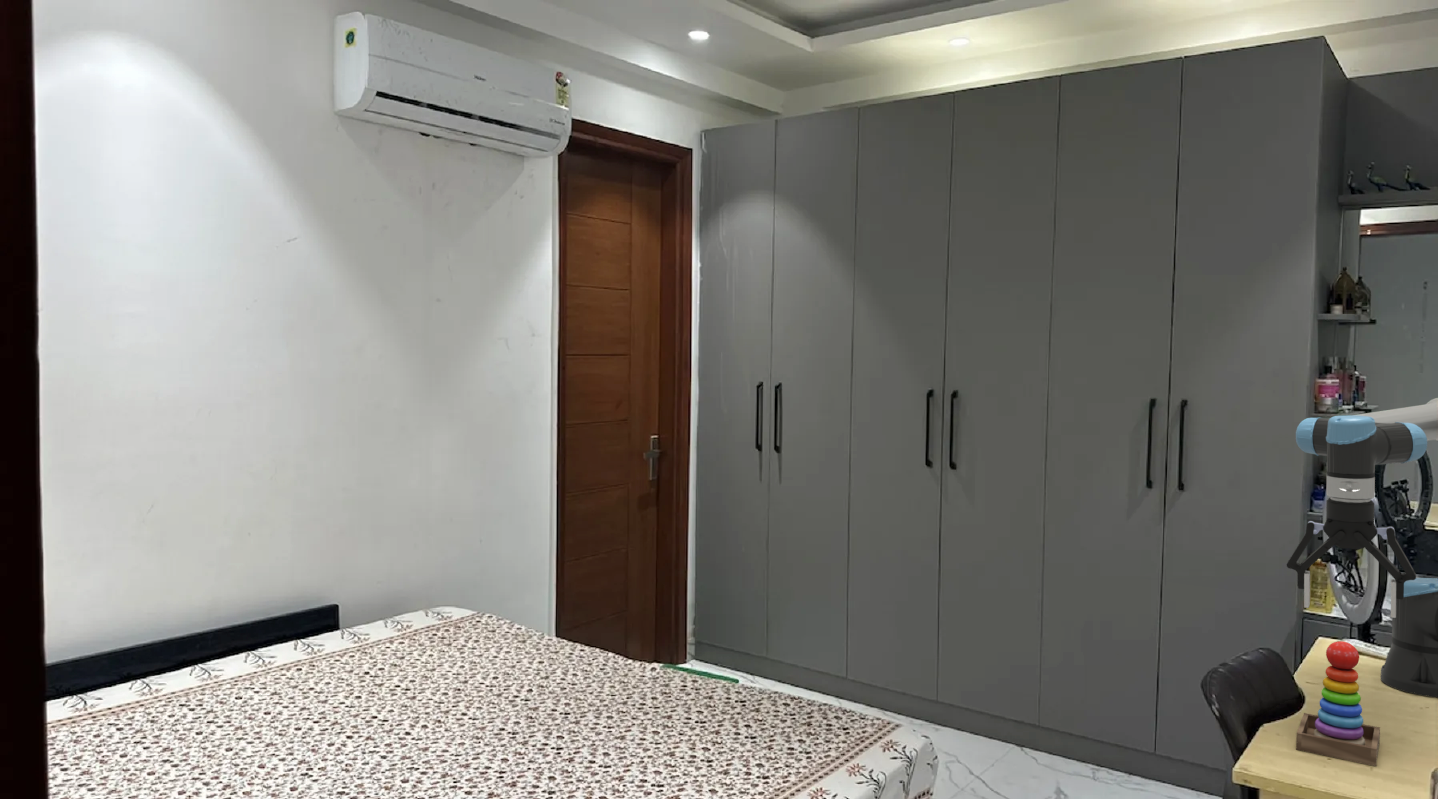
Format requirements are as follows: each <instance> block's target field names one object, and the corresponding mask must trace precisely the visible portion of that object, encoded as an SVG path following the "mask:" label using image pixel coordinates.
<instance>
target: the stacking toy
mask: <svg viewBox="0 0 1438 799" xmlns="http://www.w3.org/2000/svg"><path fill="white" fill-rule="evenodd" d="M1325 656H1326V660H1327V661H1328V664H1330V665H1329V666H1327V667H1326V668H1325V674H1326V677H1324V678H1323V680H1322V685H1323V686H1324V687H1323V688H1322V689H1321V696H1322V698H1320V700H1319V706H1320V708H1319V710H1318V711H1317V715H1318V716H1319V718H1318V719H1317V720H1316V721H1315V727H1316V729H1315V731H1314V735H1315V736H1320V737H1325V738H1330V739H1335V740H1340V741H1345V742H1350V743H1355V744H1360V745H1365V739H1364V738H1363V737H1362V736H1363V733H1364V731H1363V728H1362V727H1361V725H1362V724H1364V718H1363V716H1362V713H1363V708H1362V705H1361V704H1360V702H1361V698H1362V697H1361V695H1360V693H1359V692H1358V691H1359V688H1360V686H1359V684H1358V682H1357V680H1358V678H1359V673H1358V671H1357V670H1355V669H1354V668H1355V667H1356V666H1357V665H1358V664H1359V661H1360V654H1359V651H1358V650H1357V648H1356V647H1355V646H1354V645H1353V644H1351V643H1349V642H1346V641H1342V640H1340V641H1339V640H1338V641H1334V642H1331V643H1330V644H1329V645H1328V646H1327V648H1326V652H1325Z"/></svg>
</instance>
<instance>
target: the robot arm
mask: <svg viewBox="0 0 1438 799" xmlns="http://www.w3.org/2000/svg"><path fill="white" fill-rule="evenodd" d="M1295 441H1296V445H1297V447H1298V448H1299V449H1300V450H1301V451H1302V452H1304V453H1305V454H1311V455H1315V456H1317V457H1319V456H1325V457H1326V466H1327V467H1326V496H1327V497H1329V498H1327V499H1326V504H1325V505H1326V506H1325V507H1326V513H1325V514H1326V516H1325V517H1326V518H1325V523H1320V522H1315V521H1314V520H1308V522H1307V524H1306V530H1305V533H1304V535H1303V537H1302V539H1301V540H1300V542H1299V543H1298V545H1297V546H1296V548H1295V549H1294V551H1293V552H1292V554H1291V556H1290V557H1289V560H1288V561H1287V563H1286V567H1287V568H1288V569H1290V570H1291V569H1292V570H1293V571H1295V572H1297V584H1296V585H1297V587H1298V589H1299V590H1304V591H1303V596H1304V597H1303V608H1304V609H1305V608H1308V609H1309V608H1310V605H1311V604H1310V603H1311V571H1310V570H1308V569H1309V568H1310V567H1311V566H1312V565H1314V564H1315V563H1316V562H1317V561H1318V560H1319V559H1320V558H1321V557H1323V556H1324V555H1325V554H1326V553H1327V552H1328V551H1329V550H1330V549H1331V548H1333V547H1334V546H1335V547H1337V548H1339V549H1344V550H1345V549H1351V550H1357V551H1360V550H1362V549H1365V550H1366V551H1367V552H1368V553H1369V554H1370V555H1372V556H1373V558H1375V559H1376V561H1377V562H1378V563H1379V564H1380V565H1381V566H1382V568H1384V569H1385V571H1387V572H1388V574H1389V575H1390V576H1391V577H1392V578H1390V618H1391V619H1392V623H1391V646H1390V648H1389V651H1388V653H1387V656H1386V658H1385V661H1384V664H1383V665H1382V666H1381V668H1380V681H1381V682H1382V683H1384V684H1385V685H1387V686H1389V687H1390V688H1392V689H1393V688H1394V689H1396V690H1398V691H1403V692H1406V693H1409V694H1413V695H1418V696H1425V697H1433V698H1438V578H1437V577H1436V578H1435V577H1417V573H1416V570H1414V568H1413V566H1412V564H1411V563H1410V561H1409V559H1408V557H1407V556H1406V553H1405V552H1404V551H1403V549H1402V547H1401V545H1400V544H1399V542H1398V540H1397V538H1396V531H1395V527H1394V526H1392V525H1388V526H1386V527H1377V526H1376V524H1375V502H1374V501H1373V500H1372V499H1374V498H1375V496H1376V492H1375V489H1376V488H1375V487H1376V486H1375V485H1376V484H1375V482H1376V481H1375V480H1376V477H1375V476H1376V475H1375V473H1376V472H1375V470H1376V469H1375V467H1376V466H1378V465H1379V466H1380V465H1390V464H1406V463H1409V462H1414V461H1417V460H1419V459H1420V458H1422V457H1423V456H1424V454H1425V453H1426V452H1427V449H1428V441H1429V442H1430V441H1437V442H1438V397H1436V398H1432V399H1430V400H1429V401H1428V402H1426V403H1425V404H1420V405H1419V404H1418V405H1412V406H1406V407H1398V408H1392V409H1388V410H1386V409H1385V410H1381V411H1380V410H1379V411H1373V412H1367V413H1361V414H1360V413H1359V414H1351V415H1335V416H1332V417H1330V418H1324V417H1322V416H1321V417H1307V418H1305V419H1303V420H1301V421H1300V423H1299V424H1298V425H1297V427H1296V430H1295ZM1320 531H1323V532H1324V533H1325V535H1326V536H1327V537H1328V538H1327V539H1326V540H1325V541H1324V542H1323V543H1322V544H1321V545H1320V546H1318V547H1317V548H1316V549H1315V550H1314V551H1313V552H1311V553H1310V555H1308V556H1307V557H1306V558H1305V559H1303V561H1302V562H1301V563H1299V562H1298V561H1299V559H1300V557H1301V556H1302V554H1303V552H1304V551H1305V549H1306V548H1307V547H1308V545H1309V543H1310V542H1311V540H1312V538H1313V536H1314V535H1317V534H1319V532H1320ZM1377 535H1380V536H1381V538H1382V539H1383V540H1387V542H1388V545H1389V546H1390V549H1391V550H1392V552H1393V553H1394V556H1395V557H1396V559H1397V561H1398V562H1399V564H1400V566H1401V568H1402V569H1403V571H1404V572H1401V571H1400V570H1399V569H1398V568H1397V567H1396V565H1395V564H1394V563H1393V562H1392V561H1391V560H1390V559H1389V558H1388V557H1387V556H1386V555H1385V554H1384V553H1383V552H1382V550H1380V549H1379V548H1378V547H1377V545H1376V544H1375V543H1374V541H1373V539H1374V538H1375V537H1376V536H1377Z"/></svg>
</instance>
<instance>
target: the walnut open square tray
mask: <svg viewBox="0 0 1438 799" xmlns="http://www.w3.org/2000/svg"><path fill="white" fill-rule="evenodd" d="M1318 718H1319V716H1318V714H1313V713H1312V714H1311V713H1306V712H1303V715H1302V718H1301V721H1300V723H1299V726H1298V728H1297V731H1296V736H1295V737H1296V741H1295V745H1296V746H1295V749H1296V750H1297V751H1302V752H1306V753H1311V754H1316V755H1320V756H1326V757H1330V758H1335V759H1339V760H1345V761H1348V762H1349V761H1350V762H1354V763H1359V764H1363V765H1368V766H1373V767H1377V762H1378V755H1379V749H1380V742H1381V740H1380V737H1381V736H1380V734H1381V727H1379V726H1374V725H1369V724H1365V723H1363V724H1362V725H1361V727H1362V728H1363V731H1364V733H1363V736H1362V737H1363V738H1364V739H1365V745H1360V744H1355V743H1350V742H1345V741H1340V740H1335V739H1330V738H1325V737H1320V736H1315V735H1314V731H1315V729H1316V727H1315V721H1316V720H1317V719H1318Z"/></svg>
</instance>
